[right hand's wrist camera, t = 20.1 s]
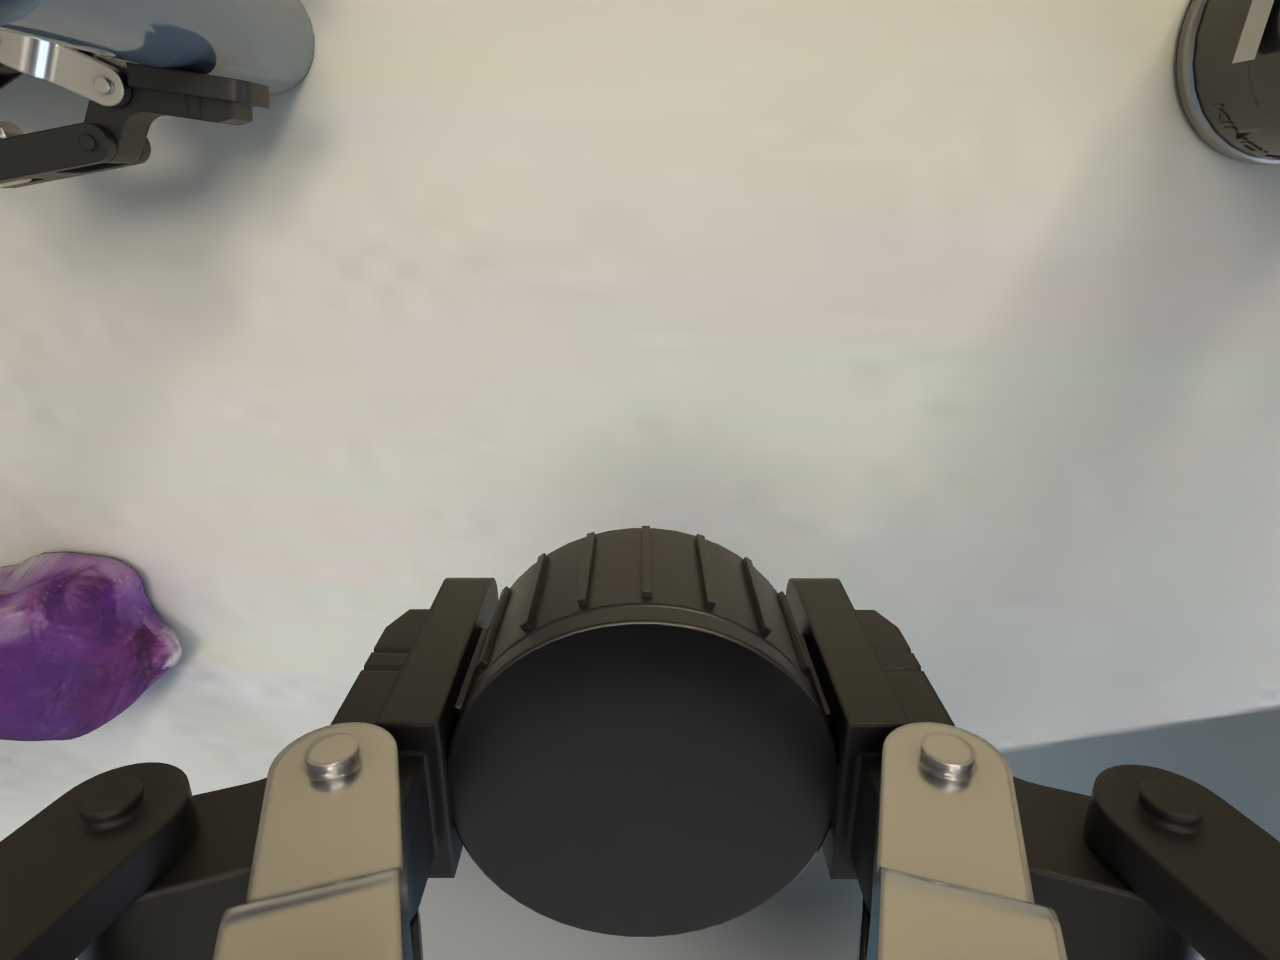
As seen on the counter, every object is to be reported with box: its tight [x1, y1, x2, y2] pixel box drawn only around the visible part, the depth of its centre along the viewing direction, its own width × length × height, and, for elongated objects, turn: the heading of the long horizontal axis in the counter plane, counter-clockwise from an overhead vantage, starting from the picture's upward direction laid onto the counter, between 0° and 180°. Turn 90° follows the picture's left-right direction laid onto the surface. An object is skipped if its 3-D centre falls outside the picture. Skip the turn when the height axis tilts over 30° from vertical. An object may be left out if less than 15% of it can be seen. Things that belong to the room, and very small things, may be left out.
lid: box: [447, 526, 838, 937], centre depth 10 cm, size 5×5×2 cm
